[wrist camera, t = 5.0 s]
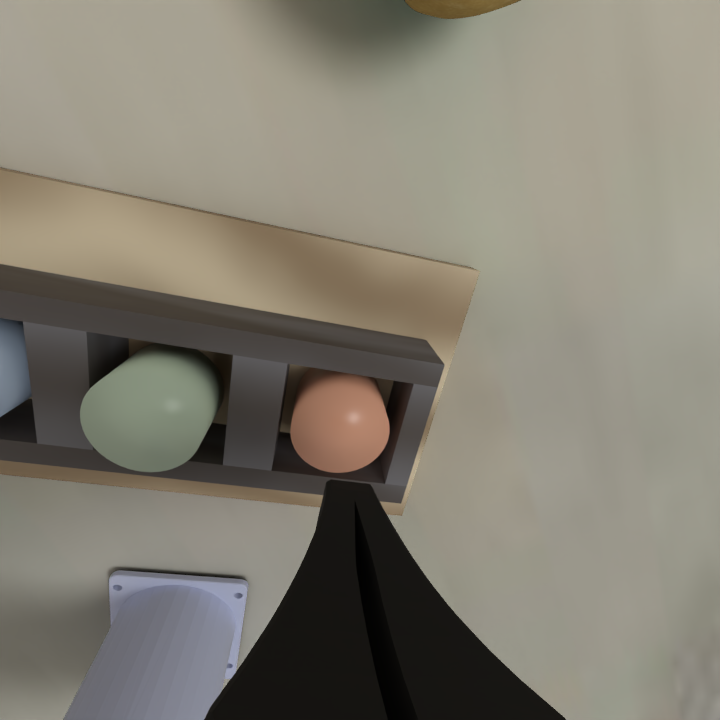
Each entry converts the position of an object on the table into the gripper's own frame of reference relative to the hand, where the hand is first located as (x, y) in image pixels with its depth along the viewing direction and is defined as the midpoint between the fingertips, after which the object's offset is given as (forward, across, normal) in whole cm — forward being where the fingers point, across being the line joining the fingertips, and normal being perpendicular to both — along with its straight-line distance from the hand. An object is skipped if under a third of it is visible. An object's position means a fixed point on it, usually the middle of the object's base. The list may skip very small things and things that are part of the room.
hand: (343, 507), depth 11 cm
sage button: (+6, +7, 0) cm, 9 cm away
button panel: (+8, +7, 0) cm, 11 cm away
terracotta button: (+7, 0, 0) cm, 7 cm away
